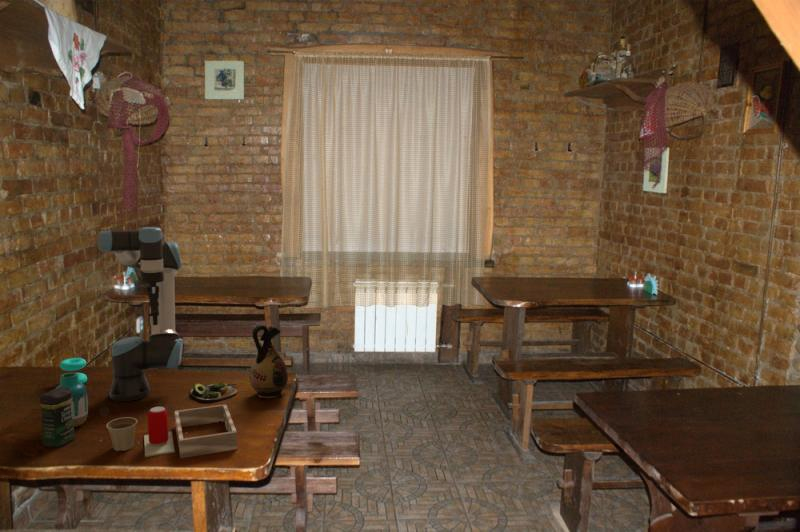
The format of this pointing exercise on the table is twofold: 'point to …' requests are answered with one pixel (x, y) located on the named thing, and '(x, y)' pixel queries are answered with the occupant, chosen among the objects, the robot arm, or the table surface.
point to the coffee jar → (57, 417)
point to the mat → (158, 446)
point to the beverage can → (158, 425)
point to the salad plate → (212, 391)
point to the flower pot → (122, 433)
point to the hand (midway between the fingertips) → (155, 328)
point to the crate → (207, 442)
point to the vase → (76, 397)
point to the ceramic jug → (267, 365)
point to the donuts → (75, 367)
